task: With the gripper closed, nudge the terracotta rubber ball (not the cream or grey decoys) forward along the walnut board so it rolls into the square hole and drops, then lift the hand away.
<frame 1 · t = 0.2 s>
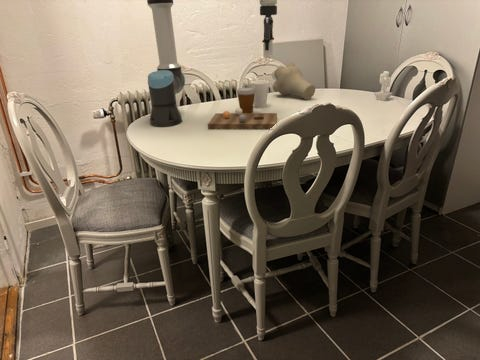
hand: (268, 56, 163), 28 cm above the table, fingers open, 13 cm apart
ball: (226, 114, 162), point 4 cm above the table, touching board
figurine: (382, 99, 196), on the table
board: (243, 123, 163), on the table
disposable coffee cup: (246, 112, 181), on the table
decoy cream: (238, 111, 167), point 4 cm above the table, touching board
foam cup: (260, 106, 192), on the table
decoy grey: (242, 118, 156), point 4 cm above the table, touching board
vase: (295, 98, 208), on the table
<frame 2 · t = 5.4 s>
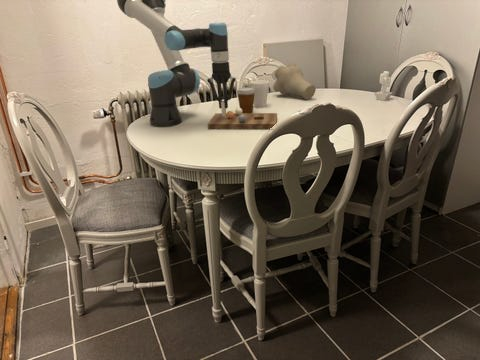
hand: (224, 115, 162), 4 cm above the table, fingers closed
ball: (230, 114, 162), point 4 cm above the table, tilted 55°, touching board
everything else where it was.
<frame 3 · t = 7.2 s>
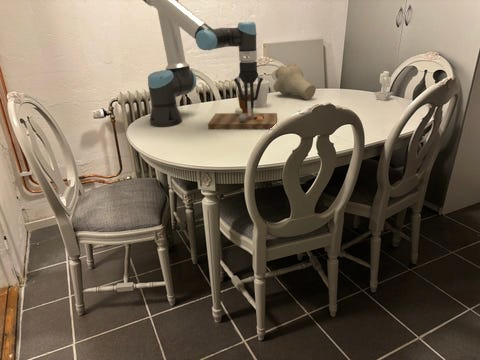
hand: (249, 115, 161), 4 cm above the table, fingers closed
ball: (260, 120, 161), point 2 cm above the table, tilted 134°
everything else where it was.
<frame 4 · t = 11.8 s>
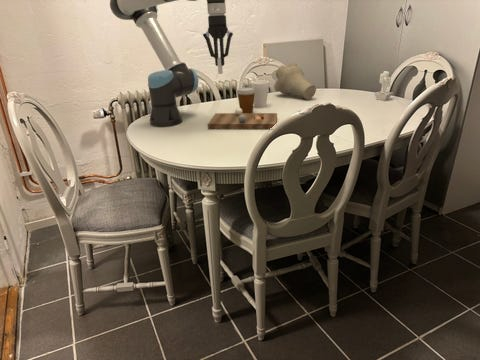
hand: (220, 73, 157), 22 cm above the table, fingers closed
ball: (257, 120, 161), point 2 cm above the table, tilted 167°
everything else where it was.
at the end: ball 0.5 cm from the target spot on the board, point 1.7 cm above the board's base; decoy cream moved 0.0 cm from its start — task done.
